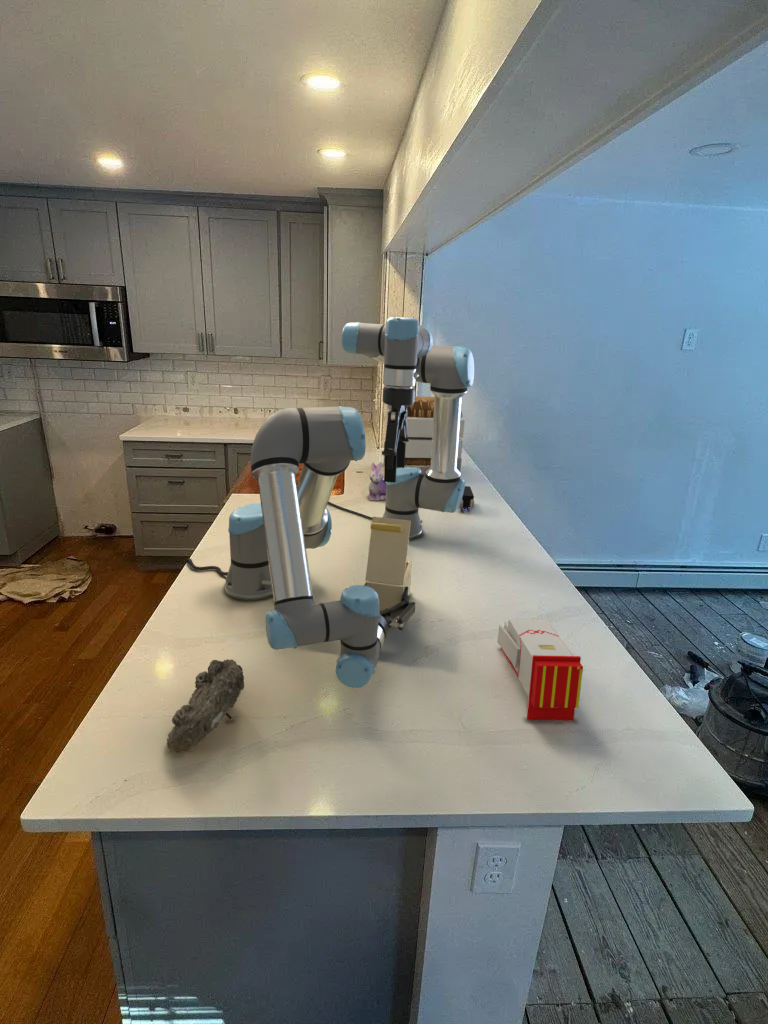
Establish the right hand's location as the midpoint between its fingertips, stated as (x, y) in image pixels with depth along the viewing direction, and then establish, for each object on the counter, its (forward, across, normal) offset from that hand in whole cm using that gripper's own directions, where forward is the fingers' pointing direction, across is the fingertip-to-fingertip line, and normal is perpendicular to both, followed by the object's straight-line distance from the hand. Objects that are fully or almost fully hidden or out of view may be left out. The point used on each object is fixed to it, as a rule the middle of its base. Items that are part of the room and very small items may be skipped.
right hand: (394, 474), depth 140 cm
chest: (+36, 0, 0) cm, 36 cm away
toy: (+36, -24, -36) cm, 57 cm away
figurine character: (+36, +86, -16) cm, 95 cm away
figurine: (+36, +88, +20) cm, 97 cm away
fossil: (+36, -52, +25) cm, 68 cm away
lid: (+19, -4, 0) cm, 19 cm away
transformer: (+36, +131, +8) cm, 136 cm away
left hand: (+30, -4, 0) cm, 30 cm away
